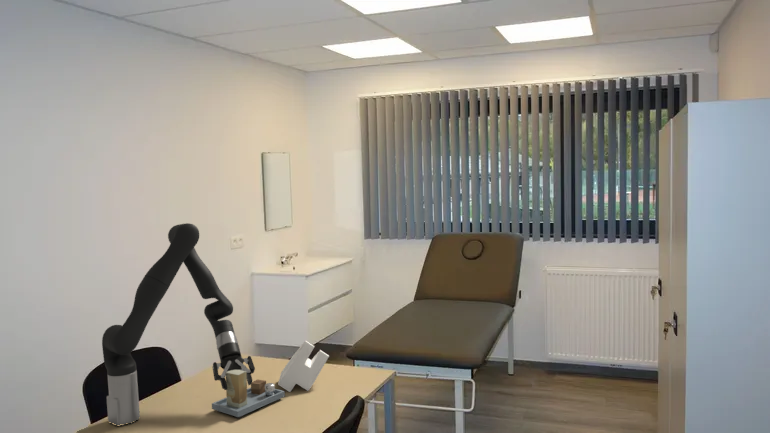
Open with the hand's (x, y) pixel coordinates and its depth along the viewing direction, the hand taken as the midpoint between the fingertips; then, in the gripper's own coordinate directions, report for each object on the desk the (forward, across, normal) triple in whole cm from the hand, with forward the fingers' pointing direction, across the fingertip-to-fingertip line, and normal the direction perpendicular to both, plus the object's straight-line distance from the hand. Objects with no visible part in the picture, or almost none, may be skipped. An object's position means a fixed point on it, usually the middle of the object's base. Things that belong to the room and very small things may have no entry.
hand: (238, 386), depth 211 cm
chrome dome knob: (+2, +13, +8) cm, 15 cm away
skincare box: (+4, 0, +6) cm, 8 cm away
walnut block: (-2, +10, +12) cm, 16 cm away
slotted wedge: (-2, +29, +15) cm, 33 cm away
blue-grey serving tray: (+4, +4, +9) cm, 11 cm away
